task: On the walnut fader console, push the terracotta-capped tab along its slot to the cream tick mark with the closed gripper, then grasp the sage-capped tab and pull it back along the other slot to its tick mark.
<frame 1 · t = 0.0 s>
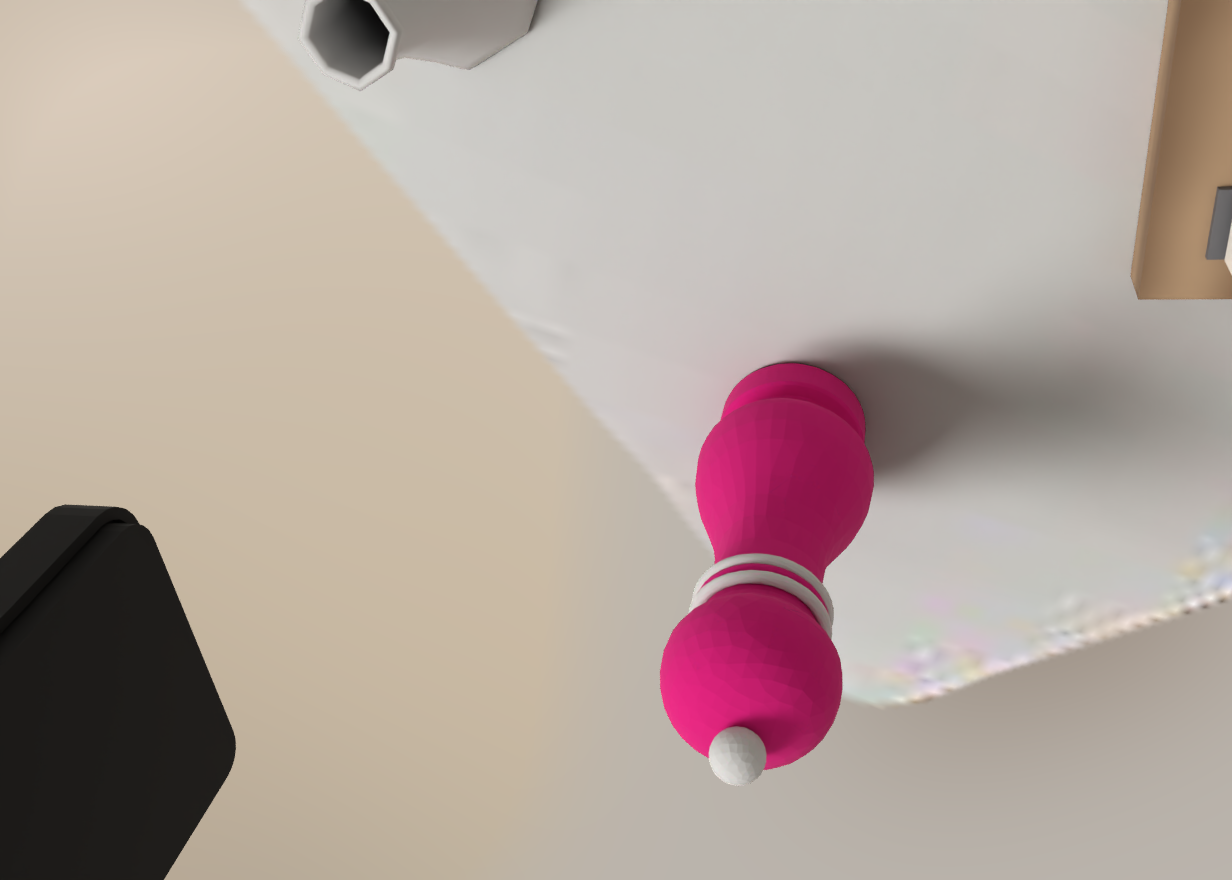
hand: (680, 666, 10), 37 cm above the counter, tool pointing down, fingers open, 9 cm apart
pepper mill: (793, 420, 52), on the counter
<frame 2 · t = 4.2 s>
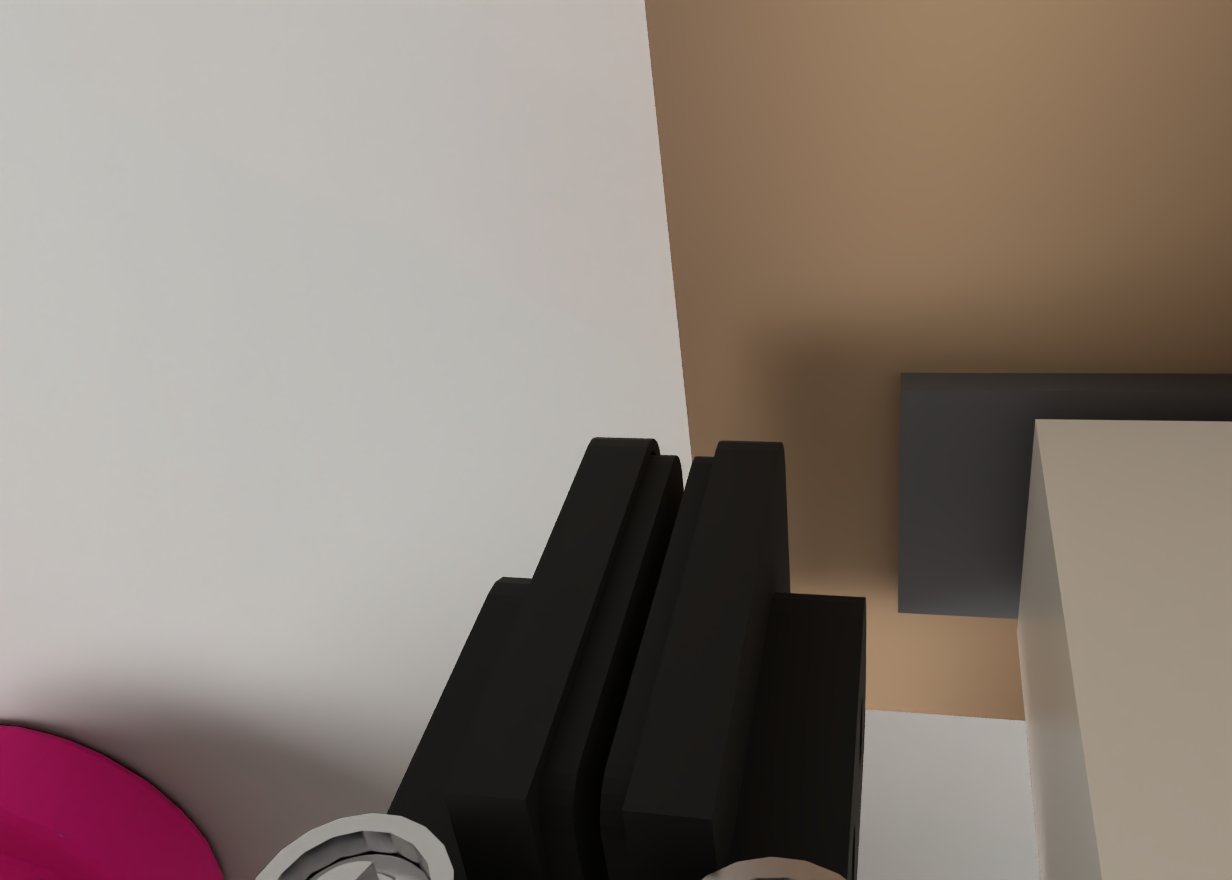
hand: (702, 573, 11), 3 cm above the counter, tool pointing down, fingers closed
pepper mill: (80, 829, 22), on the counter
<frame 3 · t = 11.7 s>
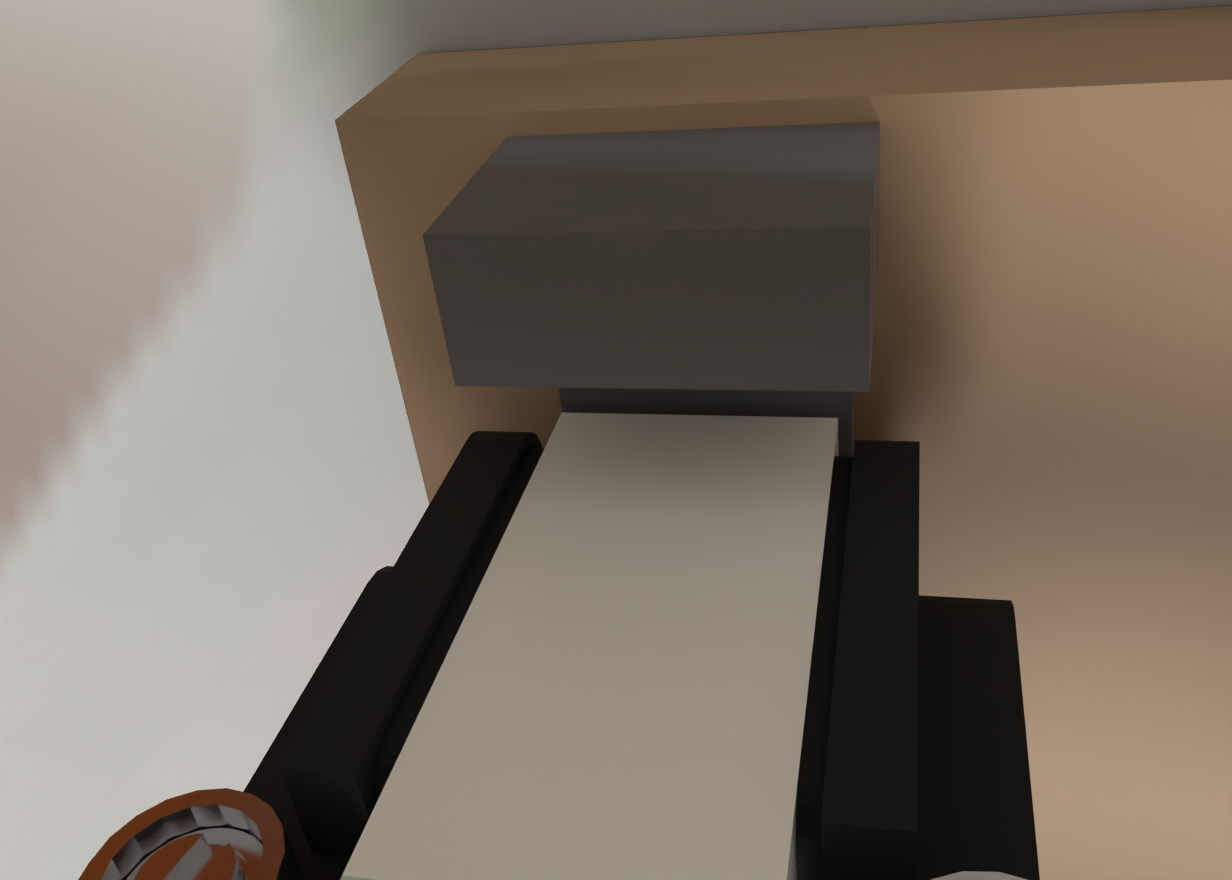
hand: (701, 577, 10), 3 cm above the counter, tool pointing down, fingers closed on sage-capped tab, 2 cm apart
sage-capped tab: (653, 780, 9), point 5 cm above the counter, slide at 16.0 cm, touching gripper
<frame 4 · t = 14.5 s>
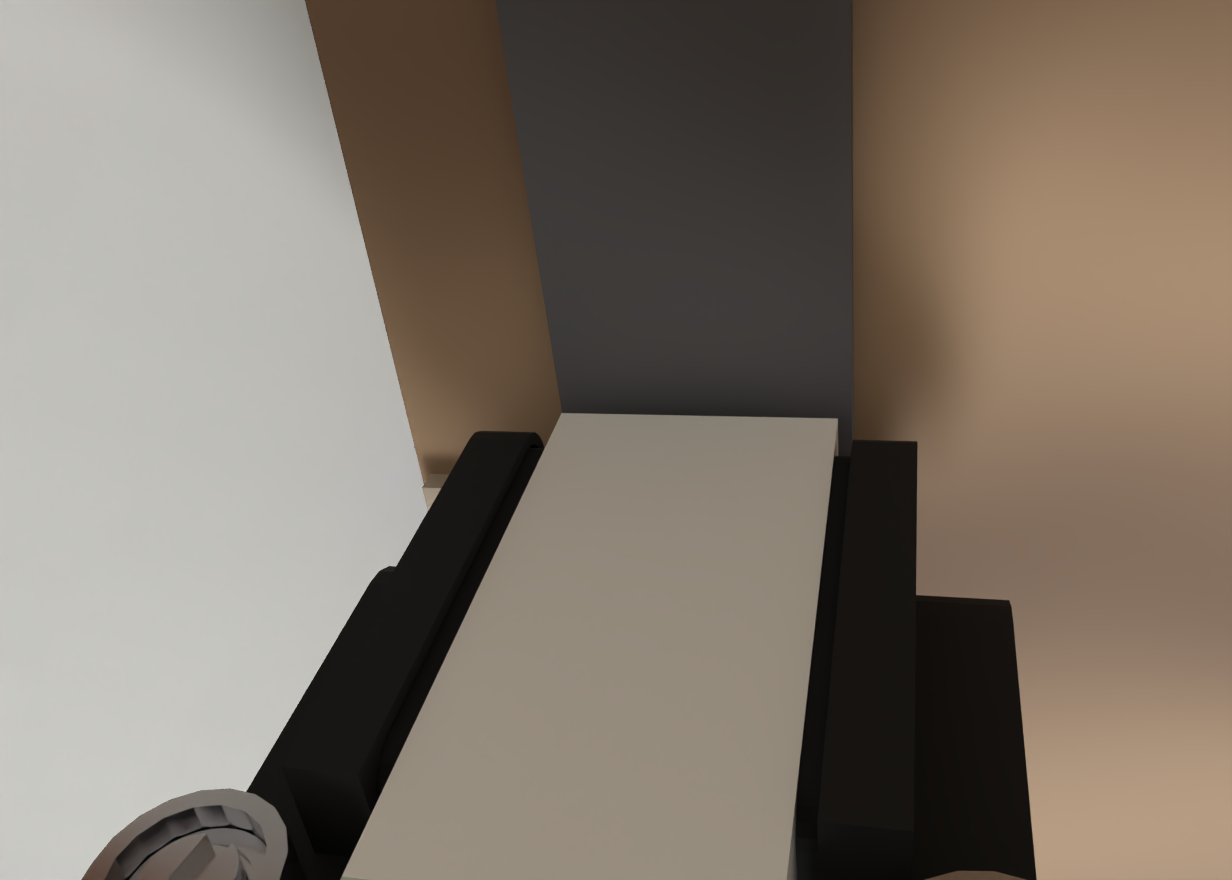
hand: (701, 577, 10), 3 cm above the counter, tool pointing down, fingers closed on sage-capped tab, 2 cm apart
sage-capped tab: (653, 781, 9), point 5 cm above the counter, slide at 3.0 cm, touching gripper
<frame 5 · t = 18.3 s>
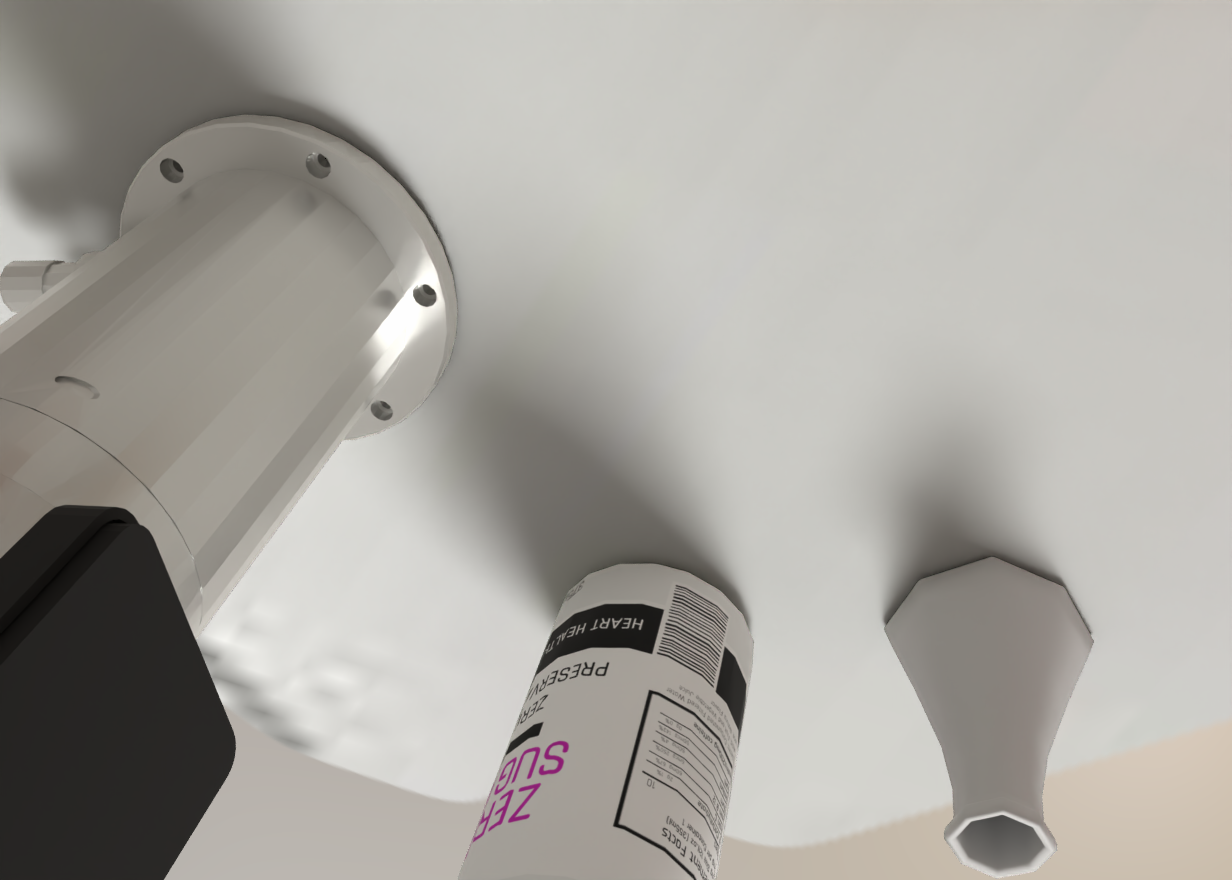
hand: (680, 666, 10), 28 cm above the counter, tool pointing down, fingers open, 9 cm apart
flask: (986, 626, 45), on the counter
supplement can: (658, 625, 49), on the counter
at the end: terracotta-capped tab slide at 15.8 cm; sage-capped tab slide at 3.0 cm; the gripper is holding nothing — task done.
